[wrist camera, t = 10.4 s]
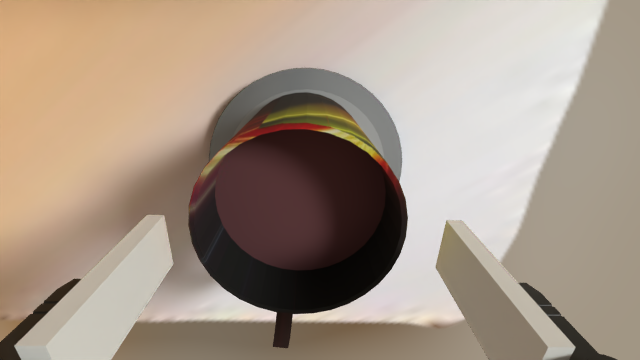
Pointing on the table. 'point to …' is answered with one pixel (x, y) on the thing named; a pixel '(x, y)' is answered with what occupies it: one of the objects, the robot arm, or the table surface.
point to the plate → (318, 82)
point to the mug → (298, 211)
